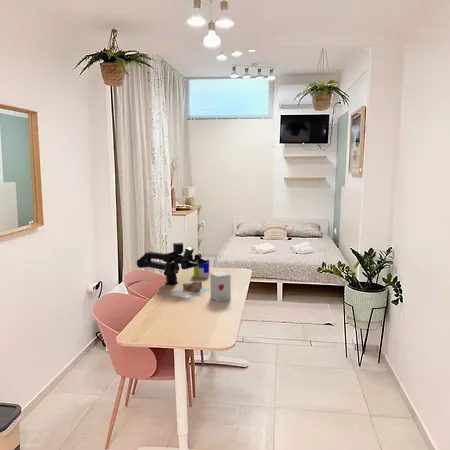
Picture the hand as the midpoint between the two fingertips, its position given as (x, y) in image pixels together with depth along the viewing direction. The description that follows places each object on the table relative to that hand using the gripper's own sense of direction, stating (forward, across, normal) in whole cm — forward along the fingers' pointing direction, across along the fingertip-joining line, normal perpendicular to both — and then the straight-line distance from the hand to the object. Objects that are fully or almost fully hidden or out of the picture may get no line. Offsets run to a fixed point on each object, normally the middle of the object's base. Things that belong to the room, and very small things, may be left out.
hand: (202, 263), depth 268 cm
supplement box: (+20, -10, +16) cm, 28 cm away
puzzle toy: (-19, +26, +18) cm, 36 cm away
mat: (-4, -9, +17) cm, 19 cm away
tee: (-4, -3, +17) cm, 17 cm away
